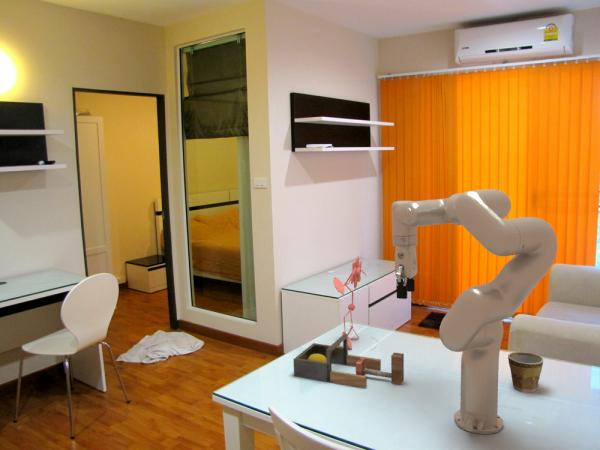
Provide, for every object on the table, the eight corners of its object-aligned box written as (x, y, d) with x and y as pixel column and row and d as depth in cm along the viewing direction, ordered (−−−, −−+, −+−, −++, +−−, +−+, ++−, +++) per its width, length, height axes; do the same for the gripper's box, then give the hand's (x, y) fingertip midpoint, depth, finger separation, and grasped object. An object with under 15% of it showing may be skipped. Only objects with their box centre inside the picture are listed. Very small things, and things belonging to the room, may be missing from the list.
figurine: (328, 353, 195) (328, 261, 190) (349, 332, 219) (350, 249, 214) (368, 359, 189) (369, 264, 185) (385, 337, 213) (387, 252, 208)
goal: (330, 382, 170) (329, 350, 169) (293, 376, 176) (293, 344, 175) (347, 364, 185) (347, 334, 184) (313, 359, 191) (313, 329, 189)
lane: (365, 388, 165) (365, 377, 165) (330, 382, 170) (330, 371, 170) (380, 369, 180) (380, 359, 179) (347, 364, 185) (347, 354, 184)
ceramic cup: (546, 396, 156) (547, 364, 155) (510, 394, 159) (511, 362, 157) (535, 378, 169) (536, 348, 168) (503, 376, 171) (503, 347, 170)
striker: (400, 385, 166) (400, 358, 165) (355, 378, 172) (355, 352, 171) (404, 379, 171) (404, 352, 170) (361, 372, 177) (361, 346, 176)
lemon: (332, 355, 182) (310, 352, 185) (326, 355, 177) (304, 352, 180) (330, 371, 181) (309, 368, 184) (324, 372, 176) (303, 368, 179)
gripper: (410, 244, 153) (411, 302, 154) (422, 237, 168) (423, 289, 170) (385, 244, 156) (386, 300, 158) (399, 236, 171) (401, 288, 173)
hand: (405, 294), depth 164 cm, fingers open, 9 cm apart
